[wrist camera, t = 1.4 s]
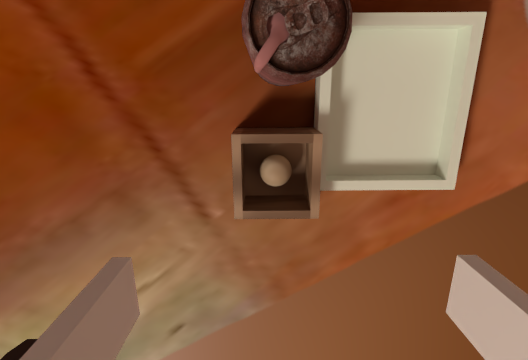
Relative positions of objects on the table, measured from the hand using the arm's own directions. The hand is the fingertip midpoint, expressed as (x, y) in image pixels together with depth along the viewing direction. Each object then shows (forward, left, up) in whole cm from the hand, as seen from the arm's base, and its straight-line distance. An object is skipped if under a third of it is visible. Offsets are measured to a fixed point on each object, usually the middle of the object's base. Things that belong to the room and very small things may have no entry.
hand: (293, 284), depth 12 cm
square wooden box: (0, 0, -21) cm, 21 cm away
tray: (-6, +11, -21) cm, 24 cm away
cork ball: (0, 0, -20) cm, 20 cm away
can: (-11, +1, -21) cm, 24 cm away
